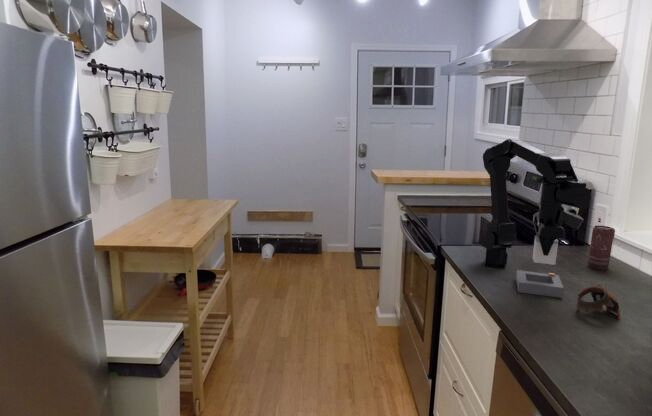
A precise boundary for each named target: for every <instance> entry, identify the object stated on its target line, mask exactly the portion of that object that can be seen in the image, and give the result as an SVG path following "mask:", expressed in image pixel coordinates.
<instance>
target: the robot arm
mask: <svg viewBox="0 0 652 416" xmlns="http://www.w3.org/2000/svg"><path fill="white" fill-rule="evenodd" d="M516 157H518V158H519V159H522V160H523V161H525V162H528V163H529V164H531V165H533V166H534V167H535V169H536V171H537V172H538V173H539V174H540V175H541V177H539V178H538V179H537V180H536V182H537V183H539V184H541V191H540V200H539V201H538V211H537V212H535V213H534V214H533V215H532V217H533V218H532V222H533V223H535V224H534V230H535V233H536V235H537V236H538V237H539V240H540V244H541V248H542V251H543V255H545V256H548V254H549V252H550V249H551V247H552V245H553V243H554V241H555V240H556V239H557V240H558V239H565V238H566V232H567V231H566V230H565V228H564V227H563V224H564V225H568V226H570V227H571V228H573V230H574V229H575V230H579V229H580V227H581V225H582V223H583V222H584V218H583V217H582V216H580V215H578V214H577V213H578V212H577V210H576V209H584V208H585V207H587V206H588V205H589V203H590V201H591V198H592V195H591V192H590V190H589V189H588V187H587V182H582V181H579V179H578V177H577V174H576V173H575V170H574V168H573V165H572V162H571V161H572V160H571V159H570V158H569V157H568V156H565V155H560V154H554V153H547V152H546V151H543V150H541V149H539V148H537V147H534V146H532V145H530V144H529V143H526V142H525V141H523V140H522V139H519V138H507V139H505V140H504V141H502V142H501V143H498V144H496V145H493V146H491V147H489V148H486V150H484V152H483V154H482V162H483V168H484V169H485V171H486V172H487V174H488V175H489V182H490V183H489V184H490V185H489V186H490V199H491V216H492V219H491V220H490V222H489V224H488V226H487V234H486V235H484V237H482V238H481V239H480V243H481V246H482V247H483V248H485V258H484V262H483V263H484V264H483V265H484V267H489V268H490V267H491V268H492V267H493V268H499V269H505V268H506V265H508V264H507V263H508V255H509V254H508V251H507V249H511V248H512V247H513V244H514V242H515V241H516V236H517V235H518V234H517V225H516V223H515V222H512V221H511V220H510V218H509V217H510V216H509V208H508V207H509V206H508V205H509V204H508V203H509V202H508V189H507V187H508V186H507V172H509V169H510V167H511V160H512V159H514V158H516ZM564 205H566V206H568V207H570V208H568V209H565V206H564ZM571 207H573V208H571ZM574 208H576V209H574Z"/></svg>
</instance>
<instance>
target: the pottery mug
mask: <svg viewBox="0 0 652 416" xmlns="http://www.w3.org/2000/svg"><path fill="white" fill-rule="evenodd" d="M587 294H590V295H591V297H592V300H593V301H584V300H583V299H582V298H583V297H584V296H585V295H587ZM577 296H578V297H577V303H576V308H577V311H578V312H580V311H583V312H585V313H588V312H590V313H592V312H599V313H601V314H604V310H603V309H604V308H603V307H604V306H605V307H606V308H605V309H606V311H607V312H612V313H614V314H616V315H617V320H621V309H620V305H619V302H618V299H617V298H616V297H615V295H613V294H612V293H611V292H609V291H608V290H607V289H606V288H604V287H602V286H601V285H600V284H599V285H593V286H589V287H586V288H584V289H581V290H580V291H579V293H578V294H577Z"/></svg>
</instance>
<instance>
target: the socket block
mask: <svg viewBox="0 0 652 416" xmlns="http://www.w3.org/2000/svg"><path fill="white" fill-rule="evenodd" d="M515 277H516V278H515V281H516V287H517V288H516V289H517V292H518V293H522V294H523V293H525V294H532V295H538V296H546V297H552V298H554V297H555V298H559V299H562V298H563V297H564V296H563V295H564V290H565V289H564V285H563V283H562V281H561V278H560V275H558V274H556V273H553V272H548V273H545V272H543V273H542V272H536V271H526V270H521V269H520V270H518V269H516V276H515Z"/></svg>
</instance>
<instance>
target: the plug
mask: <svg viewBox="0 0 652 416" xmlns="http://www.w3.org/2000/svg"><path fill="white" fill-rule="evenodd" d="M558 247H559V240H558V239H556V240H555V241H554V243H553V245H552V247H551V249H550V252H549V254H548V256H545V255H543V251H542V248H541V244H540V240H539V237H538V236H537V234H536V235H534V242H533V250H532V260H533V263H534V264H536V263H537V264H545V265H553V266H554V265H555V266H556V263H557V262H556V261H557V254H558Z"/></svg>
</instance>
